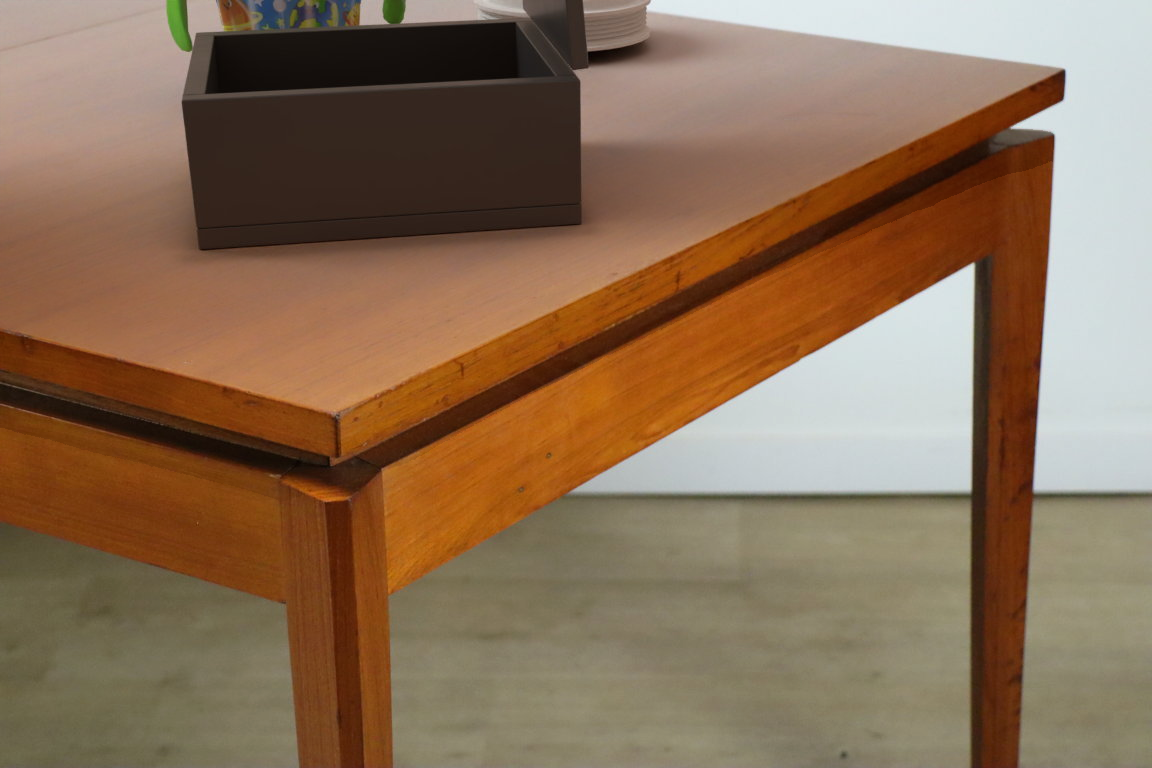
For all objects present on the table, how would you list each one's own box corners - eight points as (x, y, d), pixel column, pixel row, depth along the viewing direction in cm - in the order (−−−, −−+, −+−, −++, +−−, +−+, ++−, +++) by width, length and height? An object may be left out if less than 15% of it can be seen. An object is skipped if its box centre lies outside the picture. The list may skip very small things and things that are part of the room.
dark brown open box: (198, 249, 70) (181, 100, 67) (210, 160, 83) (195, 32, 80) (581, 224, 73) (580, 79, 70) (533, 141, 86) (530, 17, 83)
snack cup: (378, 60, 106) (368, -92, 101) (441, 91, 97) (433, -73, 93) (155, 87, 99) (135, -74, 95) (202, 123, 90) (183, -52, 86)
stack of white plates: (582, 22, 117) (582, -45, 115) (686, 50, 108) (687, -22, 106) (441, 43, 111) (438, -27, 108) (539, 75, 101) (537, -1, 99)
